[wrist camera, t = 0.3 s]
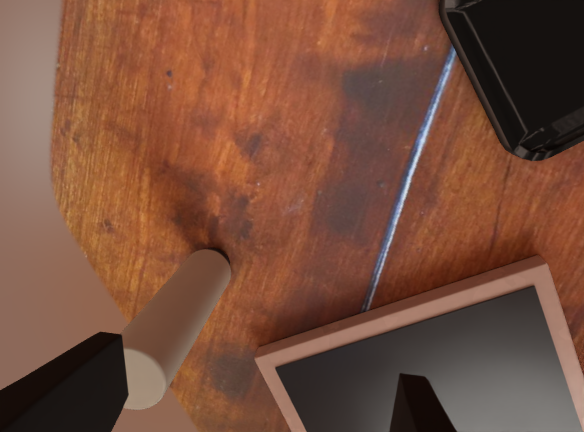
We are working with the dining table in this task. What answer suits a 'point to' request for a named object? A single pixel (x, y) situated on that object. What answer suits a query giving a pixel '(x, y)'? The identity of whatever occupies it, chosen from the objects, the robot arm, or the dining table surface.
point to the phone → (524, 68)
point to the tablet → (439, 359)
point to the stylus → (171, 325)
